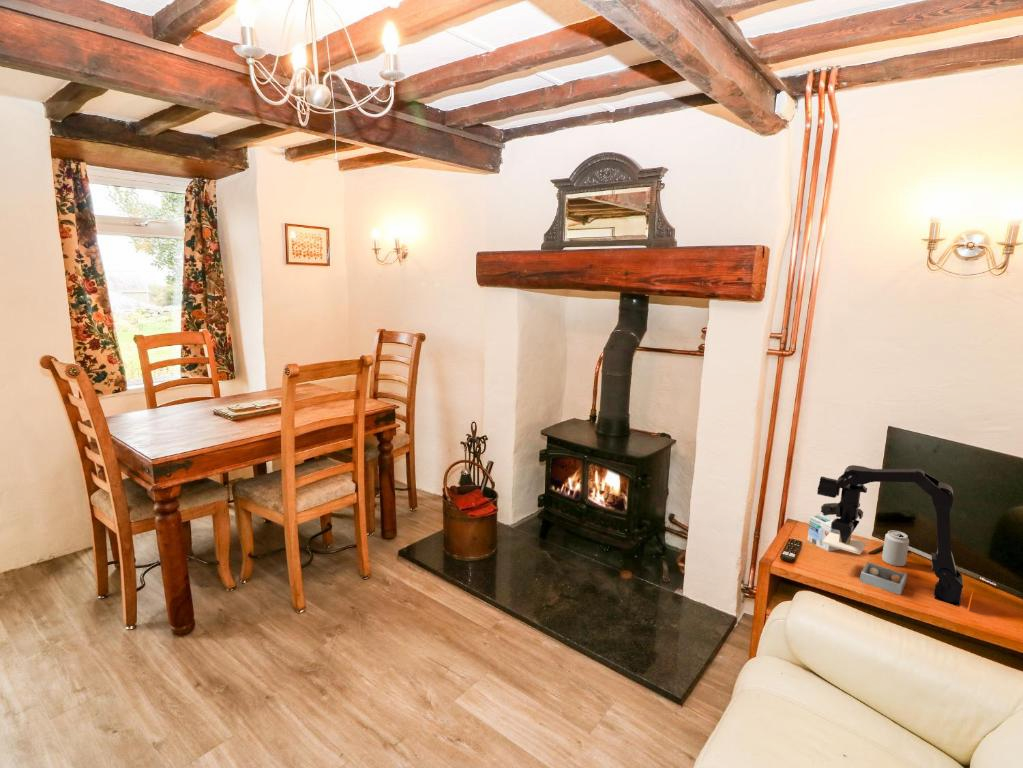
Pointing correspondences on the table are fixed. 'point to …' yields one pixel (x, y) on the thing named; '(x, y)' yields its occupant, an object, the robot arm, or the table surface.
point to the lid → (849, 545)
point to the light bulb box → (821, 531)
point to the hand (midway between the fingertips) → (844, 540)
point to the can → (895, 548)
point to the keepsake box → (881, 582)
